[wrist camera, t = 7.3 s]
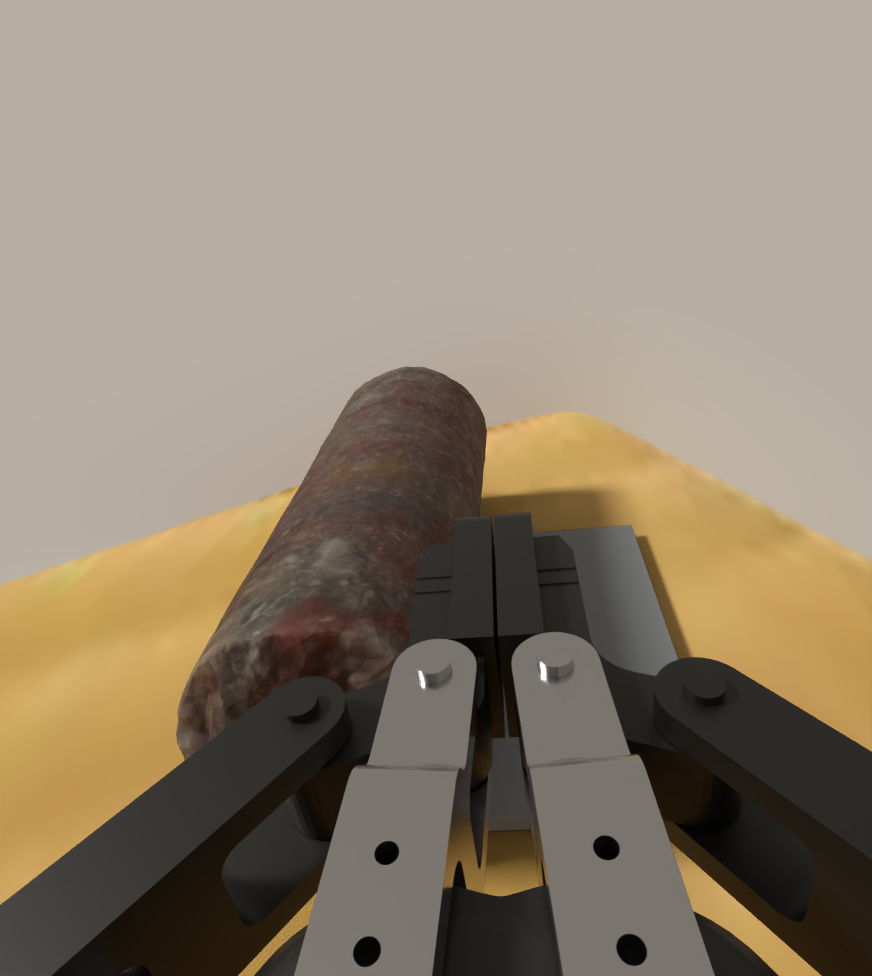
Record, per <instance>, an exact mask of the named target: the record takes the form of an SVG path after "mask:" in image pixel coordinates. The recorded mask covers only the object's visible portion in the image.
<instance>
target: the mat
mask: <svg viewBox="0 0 872 976" xmlns="http://www.w3.org/2000/svg"><path fill="white" fill-rule="evenodd" d="M554 535H559V536H560V537H561V538H562V539H563V540H564V541H565V542H566V543H567V544H568V545H569V546H570V547H571V548H572V549H573V553H574V558H575V563H576V570H577V573H578V578H579V585H580V588H581V593H582V598H583V603H584V608H585V613H586V618H587V623H588V628H589V633H590V638H591V641H592V644H593V645H594V647H595V649H596V650H597V651H598V653H599V654H600V655H601V656H602V657H604V658H605V659H606V660H607V661H609V662H610V663H612V664H614V665H616V666H618V667H620V668H623V669H626V670H629V671H633V672H638V673H643V674H648V675H653V676H656V675H657V674H658V672H659V671H660V670H661V669H662V668H663V667H664V666H665V665H667V664H669V663H670V662H673V661H675V660H678V658H677V655H676V652H675V649H674V646H673V644H672V641H671V638H670V635H669V632H668V629H667V626H666V623H665V621H664V618H663V615H662V612H661V609H660V606H659V603H658V600H657V597H656V595H655V592H654V589H653V586H652V583H651V580H650V577H649V574H648V572H647V569H646V566H645V563H644V560H643V557H642V554H641V551H640V548H639V546H638V543H637V540H636V537H635V534H634V531H633V528H632V525H629V526H615V527H602V528H589V529H575V530H562V531H549V532H535V533H533V537H540V536H554ZM494 543H495V536H494ZM503 689H504V686H503ZM504 715H505V738H493V762H492V767H491V775H492V786H491V800H490V814H489V829H488V831H505V830H531V829H530V823H529V816H528V809H527V803H526V796H525V789H524V782H523V773H522V764H521V754H520V744H519V737H509V731H508V722H507V713H506V704H505V695H504Z"/></svg>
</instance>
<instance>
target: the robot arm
mask: <svg viewBox="0 0 872 976" xmlns="http://www.w3.org/2000/svg"><path fill="white" fill-rule="evenodd" d="M494 527H495V543H494V534H493V524H492V517H491V516H479V517H467V518H456V519H455V532H454V543H449V544H435V545H431V546H430V547H429V549H428V550H427V551H426V553H425V554H424V555H423V556H422V558H421V559H420V560H419V566H418V573H417V582H416V588H415V596H414V603H413V611H412V619H411V626H410V634H409V641H408V649H406V650H405V651H404V652H402V653H401V654H400V656H399V657H398V658H397V659H396V661H395V663H394V665H393V668H392V671H391V674H390V675H389V676H388V677H386V678H385V679H383V680H381V681H379V682H377V683H375V684H372V685H370V686H367V687H364V688H360V689H357V690H354V691H351V692H348V693H343V690H342V689H341V687H340V686H339V685H338V684H337V683H335V682H334V681H332V680H330V679H327V678H324V677H317V676H315V677H303V678H299V679H295V680H292V681H290V682H288V683H286V684H284V685H282V686H280V687H279V688H277V689H276V690H274V691H273V692H272V693H271V694H269V695H268V696H267V697H266V698H264V699H263V700H262V701H260V702H259V703H258V704H257V705H255V706H254V707H253V708H251V709H250V710H249V711H248V712H246V713H245V714H244V715H243V716H241V717H240V718H239V719H237V720H236V721H235V722H234V723H232V724H231V725H230V726H228V727H227V728H226V729H225V730H223V731H222V732H221V733H220V734H218V735H217V736H216V737H214V738H213V739H212V740H211V741H209V742H208V743H207V744H205V745H204V746H203V747H202V748H200V749H199V750H198V751H197V752H195V753H194V754H193V755H191V756H190V757H189V758H188V759H186V760H185V761H184V762H182V763H181V764H180V765H179V766H177V767H176V768H175V769H174V770H172V771H171V772H170V773H168V774H167V775H166V776H165V777H163V778H162V779H161V780H159V781H158V782H157V783H156V784H154V785H153V786H152V787H151V788H149V789H148V790H147V791H145V792H144V793H143V794H142V795H140V796H139V797H138V798H136V799H135V800H134V801H133V802H131V803H130V804H129V805H128V806H126V807H125V808H124V809H122V810H121V811H120V812H119V813H117V814H116V815H115V816H113V817H112V818H111V819H110V820H108V821H107V822H106V823H105V824H103V825H102V826H101V827H99V828H98V829H97V830H96V831H94V832H93V833H92V834H90V835H89V836H88V837H87V838H85V839H84V840H83V841H82V842H80V843H79V844H78V845H76V846H75V847H74V848H73V849H71V850H70V851H69V852H67V853H66V854H65V855H64V856H62V857H61V858H60V859H59V860H57V861H56V862H55V863H53V864H52V865H51V866H50V867H48V868H47V869H46V870H44V871H43V872H42V873H41V874H39V875H38V876H37V877H36V878H34V879H33V880H32V881H30V882H29V883H28V884H27V885H25V886H24V887H23V888H21V889H20V890H19V891H18V892H16V893H15V894H14V895H13V896H11V897H10V898H9V899H7V900H6V901H5V902H4V903H2V904H1V905H0V976H238V975H239V974H240V973H241V972H242V971H243V970H244V969H245V968H246V966H247V965H248V964H249V963H250V962H251V961H252V960H253V959H254V958H255V957H256V956H257V955H258V954H259V953H260V952H261V951H262V950H263V948H264V947H265V946H266V945H267V944H268V943H269V942H270V941H271V940H272V939H273V938H274V937H275V936H276V935H277V934H278V933H279V932H280V931H281V929H282V928H283V927H284V926H285V925H286V924H287V923H288V922H289V921H290V920H291V919H292V918H293V917H294V916H295V915H296V914H297V913H298V911H299V910H300V909H301V908H302V907H303V906H304V905H305V904H306V903H307V902H308V901H309V900H310V899H311V898H312V897H313V896H314V895H315V893H316V892H317V894H316V898H315V902H314V905H313V909H312V912H311V916H310V920H309V923H308V925H307V926H305V927H304V928H303V929H301V930H300V931H299V932H297V933H296V934H295V935H293V936H292V937H291V938H290V939H289V940H288V941H286V942H285V943H284V944H283V945H282V946H281V947H280V948H279V949H278V950H277V951H276V952H275V953H274V954H273V955H272V956H271V957H270V958H269V959H268V960H267V962H266V963H265V964H264V965H263V966H262V967H261V968H260V970H259V971H258V972H257V973H256V974H255V975H254V976H778V975H777V974H776V973H775V972H774V971H773V970H772V969H771V968H770V967H769V966H768V965H767V964H766V963H765V962H764V961H763V960H762V959H761V958H760V957H759V956H758V955H757V954H756V953H755V952H754V951H753V950H751V949H750V948H749V947H748V946H747V945H746V944H744V943H743V942H742V941H740V940H739V939H738V938H737V937H735V936H734V935H733V934H732V933H730V932H729V931H727V930H726V929H724V928H723V927H721V926H719V925H718V924H716V923H715V922H713V921H712V920H710V919H708V918H706V917H704V916H702V915H700V914H698V913H696V912H694V911H693V909H692V906H691V903H690V900H689V897H688V894H687V891H686V888H685V885H684V882H683V879H682V876H681V873H680V870H679V867H678V864H677V861H676V858H675V855H674V853H673V850H672V847H671V844H670V841H671V842H672V843H673V844H674V845H675V846H676V847H677V848H678V849H680V850H681V851H682V852H683V853H684V854H685V855H686V856H687V857H689V858H690V859H691V860H692V861H693V862H694V863H695V864H696V865H698V866H699V867H700V868H701V869H702V870H703V871H704V872H705V873H707V874H708V875H709V876H710V877H711V878H712V879H713V880H715V881H716V882H717V883H718V884H719V885H720V886H721V887H722V888H724V889H725V890H726V891H727V892H728V893H729V894H730V895H731V896H733V897H734V898H735V899H736V900H737V901H738V902H739V903H740V904H742V905H743V906H744V907H745V908H746V909H747V910H748V911H749V912H751V913H752V914H753V915H754V916H755V917H756V918H757V919H758V920H760V921H761V922H762V923H763V924H764V925H765V926H766V927H768V928H769V929H770V930H771V931H772V932H773V933H774V934H775V935H777V936H778V937H779V938H780V939H781V940H782V941H783V942H784V943H786V944H787V945H788V946H789V947H790V948H791V949H792V950H793V951H795V952H796V953H797V954H798V955H799V956H800V957H801V958H802V959H804V960H805V961H806V962H807V963H808V964H809V965H810V966H811V967H813V968H814V969H815V970H816V971H817V972H818V973H819V974H821V975H822V976H872V752H871V751H870V750H868V749H866V748H865V747H863V746H861V745H860V744H858V743H856V742H855V741H853V740H851V739H850V738H848V737H846V736H845V735H843V734H842V733H840V732H838V731H837V730H835V729H833V728H832V727H830V726H828V725H827V724H825V723H823V722H822V721H820V720H818V719H817V718H815V717H813V716H812V715H810V714H808V713H807V712H805V711H803V710H802V709H800V708H799V707H797V706H795V705H794V704H792V703H790V702H789V701H787V700H785V699H784V698H782V697H780V696H779V695H777V694H775V693H774V692H772V691H770V690H769V689H767V688H765V687H764V686H762V685H761V684H759V683H757V682H756V681H754V680H752V679H751V678H749V677H747V676H746V675H744V674H742V673H741V672H739V671H737V670H736V669H734V668H732V667H730V666H728V665H727V664H724V663H722V662H719V661H716V660H712V659H707V658H697V657H691V658H683V659H679V660H675V661H673V662H670V663H669V664H667V665H665V666H664V667H663V668H662V669H661V670H660V671H659V672H658V674H657V675H656V676H653V675H648V674H643V673H638V672H633V671H629V670H626V669H623V668H620V667H618V666H616V665H614V664H612V663H610V662H609V661H607V660H606V659H605V658H604V657H602V656H601V655H600V654H599V653H598V651H597V650H596V649H595V647H594V645H593V644H592V641H591V638H590V633H589V628H588V623H587V618H586V613H585V608H584V603H583V598H582V593H581V588H580V585H579V578H578V573H577V570H576V563H575V558H574V553H573V549H572V548H571V547H570V546H569V545H568V544H567V543H566V542H565V541H564V540H563V539H562V538H561V537H560V536H559V535H554V536H540V537H533V533H532V524H531V516H530V512H529V513H516V514H503V515H494ZM503 686H504V689H503ZM504 695H505V704H506V713H507V722H508V731H509V737H519V744H520V754H521V764H522V773H523V782H524V789H525V796H526V803H527V809H528V816H529V823H530V829H531V836H532V843H533V850H534V856H535V863H536V870H537V876H538V883H539V887H536V888H532V889H529V890H525V891H522V892H518V893H515V894H512V895H508V896H492V895H488V894H485V871H486V857H487V843H488V829H489V814H490V800H491V786H492V775H491V767H492V762H493V738H505V715H504Z"/></svg>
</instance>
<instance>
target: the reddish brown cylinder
mask: <svg viewBox="0 0 872 976" xmlns="http://www.w3.org/2000/svg"><path fill="white" fill-rule="evenodd" d="M486 436H487V431H486V424H485V418H484V416H483V413H482V411H481V409H480V407H479V406H478V404H477V402H476V401H475V399H474V398H473V396H472V395H471V394H470V393H469V392H468V391H467V389H465V388H464V387H463V386H462V385H460V384H459V383H458V382H456V381H454V380H452V379H450V378H449V377H447V376H446V375H444V374H441V373H439V372H436V371H434V370H431V369H428V368H425V367H403V368H399V369H395V370H392V371H389V372H386V373H384V374H382V375H380V376H378V377H375V378H373V379H372V380H370V381H368V382H366V383H364V384H363V385H362V386H361V387H360V388H359V389H357V390H356V391H355V392H354V394H353V395H352V397H351V398H350V399H349V401H348V402H347V404H346V406H345V407H344V409H343V411H342V412H341V414H340V416H339V418H338V419H337V421H336V423H335V425H334V427H333V429H332V430H331V432H330V434H329V435H328V437H327V438H326V440H325V442H324V444H323V445H322V447H321V449H320V451H319V453H318V455H317V456H316V458H315V460H314V462H313V464H312V465H311V467H310V469H309V471H308V473H307V474H306V477H305V478H304V480H303V482H302V484H301V486H300V487H299V489H298V490H297V492H296V494H295V495H294V497H293V499H292V500H291V502H290V504H289V506H288V507H287V509H286V510H285V512H284V513H283V515H282V517H281V518H280V520H279V522H278V524H277V525H276V527H275V529H274V530H273V532H272V534H271V536H270V537H269V539H268V541H267V543H266V544H265V546H264V548H263V550H262V551H261V553H260V555H259V557H258V559H257V560H256V562H255V564H254V565H253V567H252V568H251V570H250V572H249V573H248V575H247V576H246V578H245V580H244V581H243V583H242V584H241V586H240V588H239V589H238V591H237V593H236V595H235V596H234V598H233V600H232V601H231V603H230V605H229V607H228V608H227V610H226V612H225V614H224V615H223V617H222V619H221V621H220V623H219V625H218V627H217V629H216V631H215V632H214V634H213V635H212V637H211V638H210V640H209V642H208V644H207V646H206V647H205V649H204V651H203V653H202V655H201V656H200V658H199V660H198V661H197V663H196V665H195V667H194V669H193V671H192V673H191V675H190V678H189V680H188V682H187V684H186V686H185V689H184V691H183V693H182V697H181V700H180V704H179V708H178V712H177V713H178V726H177V732H176V736H177V744H178V746H179V748H180V750H181V752H182V754H183V756H184V758H185V760H186V759H188V758H189V757H190V756H191V755H193V754H194V753H195V752H197V751H198V750H199V749H200V748H202V747H203V746H204V745H205V744H207V743H208V742H209V741H211V740H212V739H213V738H214V737H216V736H217V735H218V734H220V733H221V732H222V731H223V730H225V729H226V728H227V727H228V726H230V725H231V724H232V723H234V722H235V721H236V720H237V719H239V718H240V717H241V716H243V715H244V714H245V713H246V712H248V711H249V710H250V709H251V708H253V707H254V706H255V705H257V704H258V703H259V702H260V701H262V700H263V699H264V698H266V697H267V696H268V695H269V694H271V693H272V692H273V691H274V690H276V689H277V688H279V687H280V686H282V685H284V684H286V683H288V682H290V681H292V680H295V679H299V678H303V677H315V676H317V677H324V678H327V679H330V680H332V681H334V682H335V683H337V684H338V685H339V686H340V687H341V689H342V690H343V693H348V692H351V691H354V690H357V689H360V688H364V687H367V686H370V685H372V684H375V683H377V682H379V681H381V680H383V679H385V678H386V677H388V676H389V675H390V674H391V671H392V668H393V665H394V663H395V661H396V659H397V658H398V657H399V656H400V654H401V653H402V652H404V651H405V650H406V649H408V641H409V634H410V626H411V619H412V611H413V603H414V596H415V588H416V582H417V573H418V566H419V560H420V559H421V558H422V556H423V555H424V554H425V553H426V551H427V550H428V549H429V547H430V546H431V545H435V544H449V543H454V532H455V519H456V518H467V517H479V513H480V504H481V492H482V483H483V469H484V462H485V449H486Z"/></svg>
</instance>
